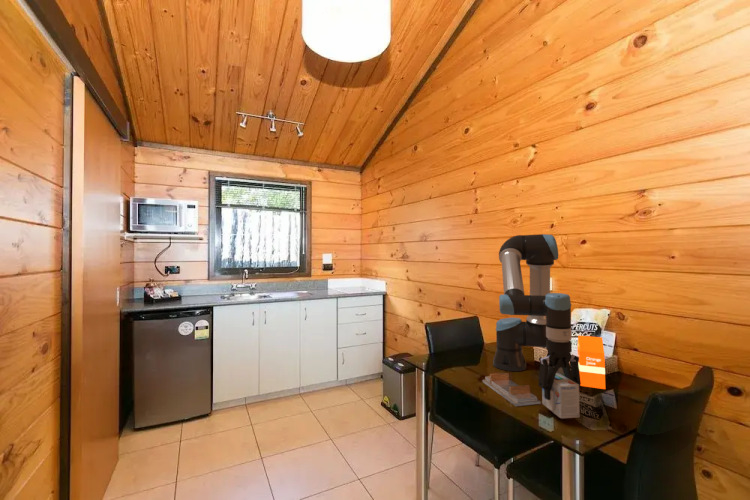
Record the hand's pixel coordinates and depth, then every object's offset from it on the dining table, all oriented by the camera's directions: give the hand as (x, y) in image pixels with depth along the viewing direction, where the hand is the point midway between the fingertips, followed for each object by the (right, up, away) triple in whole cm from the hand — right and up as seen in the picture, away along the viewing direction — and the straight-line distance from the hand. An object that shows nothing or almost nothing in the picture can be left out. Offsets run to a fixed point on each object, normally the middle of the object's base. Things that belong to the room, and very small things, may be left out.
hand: (560, 407), depth 112 cm
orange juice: (+28, -3, +27) cm, 39 cm away
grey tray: (-9, -4, +20) cm, 22 cm away
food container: (+12, -4, +22) cm, 25 cm away
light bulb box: (0, -1, 0) cm, 1 cm away
